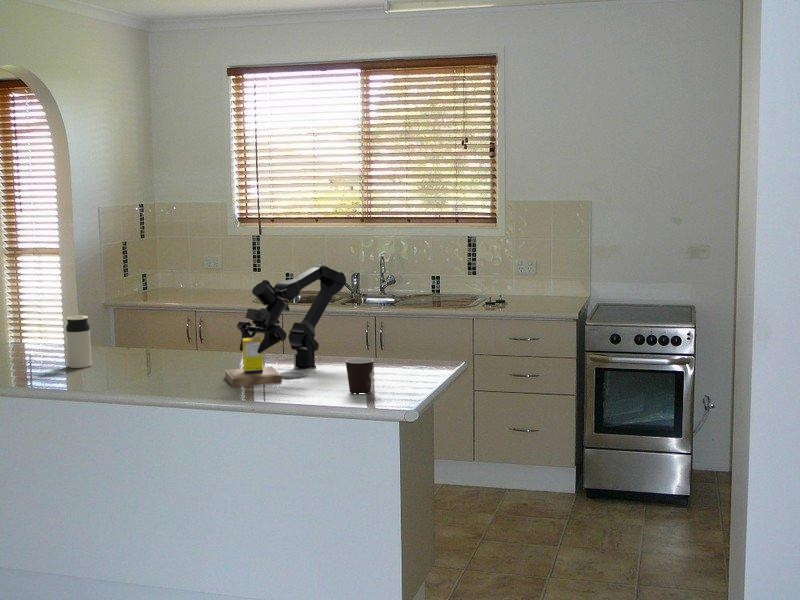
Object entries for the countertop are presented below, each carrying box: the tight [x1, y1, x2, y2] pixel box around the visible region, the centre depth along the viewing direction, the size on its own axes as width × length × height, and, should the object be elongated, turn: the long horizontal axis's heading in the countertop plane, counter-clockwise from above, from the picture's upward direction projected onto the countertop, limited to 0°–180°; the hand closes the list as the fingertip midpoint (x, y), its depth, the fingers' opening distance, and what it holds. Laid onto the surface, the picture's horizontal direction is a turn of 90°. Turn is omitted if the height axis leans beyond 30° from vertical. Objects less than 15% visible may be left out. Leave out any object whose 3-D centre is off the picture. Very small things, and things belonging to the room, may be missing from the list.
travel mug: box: [65, 315, 93, 369], centre depth 343 cm, size 8×8×18 cm
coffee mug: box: [345, 357, 374, 395], centre depth 297 cm, size 12×9×10 cm
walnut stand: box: [224, 366, 283, 388], centre depth 316 cm, size 16×16×3 cm
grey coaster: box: [279, 371, 305, 380], centre depth 321 cm, size 9×9×1 cm
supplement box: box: [241, 336, 264, 373], centre depth 315 cm, size 6×6×11 cm
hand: (249, 351), depth 314 cm, fingers closed on supplement box, 8 cm apart
